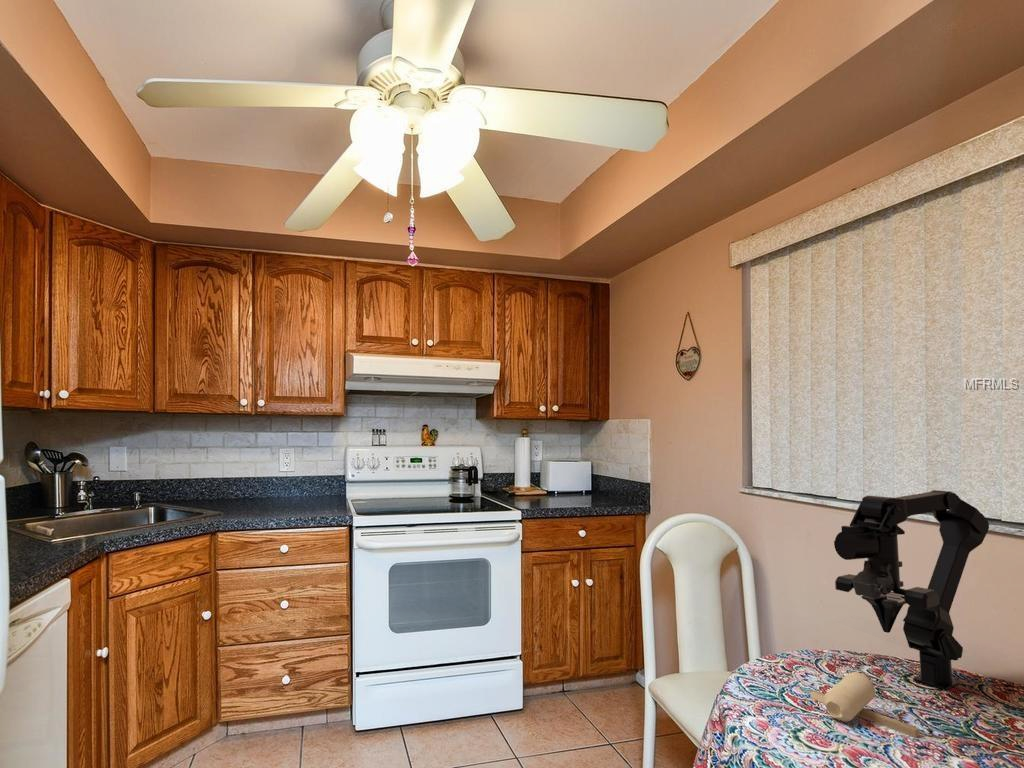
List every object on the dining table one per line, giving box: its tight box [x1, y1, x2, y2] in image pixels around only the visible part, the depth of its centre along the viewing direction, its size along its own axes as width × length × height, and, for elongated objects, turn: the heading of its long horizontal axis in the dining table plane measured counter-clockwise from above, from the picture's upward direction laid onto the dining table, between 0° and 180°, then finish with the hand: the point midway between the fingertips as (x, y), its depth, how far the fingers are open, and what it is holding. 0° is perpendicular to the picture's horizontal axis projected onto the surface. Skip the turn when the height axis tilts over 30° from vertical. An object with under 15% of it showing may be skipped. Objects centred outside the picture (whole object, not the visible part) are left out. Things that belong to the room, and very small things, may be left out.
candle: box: [823, 671, 876, 723], centre depth 119 cm, size 6×6×10 cm
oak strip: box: [809, 690, 921, 738], centre depth 120 cm, size 1×20×1 cm, turn 32°
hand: (886, 632), depth 132 cm, fingers closed
